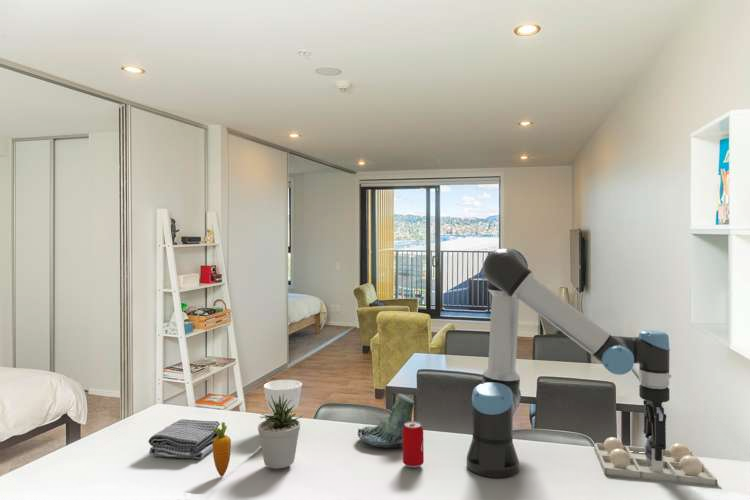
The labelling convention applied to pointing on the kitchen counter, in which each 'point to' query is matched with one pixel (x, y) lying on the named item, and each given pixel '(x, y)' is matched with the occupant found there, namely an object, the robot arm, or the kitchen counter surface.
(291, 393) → the cup
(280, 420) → the potted plant
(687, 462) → the egg near right
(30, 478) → the kitchen counter surface
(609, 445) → the egg far left
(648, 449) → the seashell
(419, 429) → the beverage can
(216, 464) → the carrot
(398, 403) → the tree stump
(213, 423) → the towel
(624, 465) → the egg near left
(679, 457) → the egg far right
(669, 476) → the egg tray
